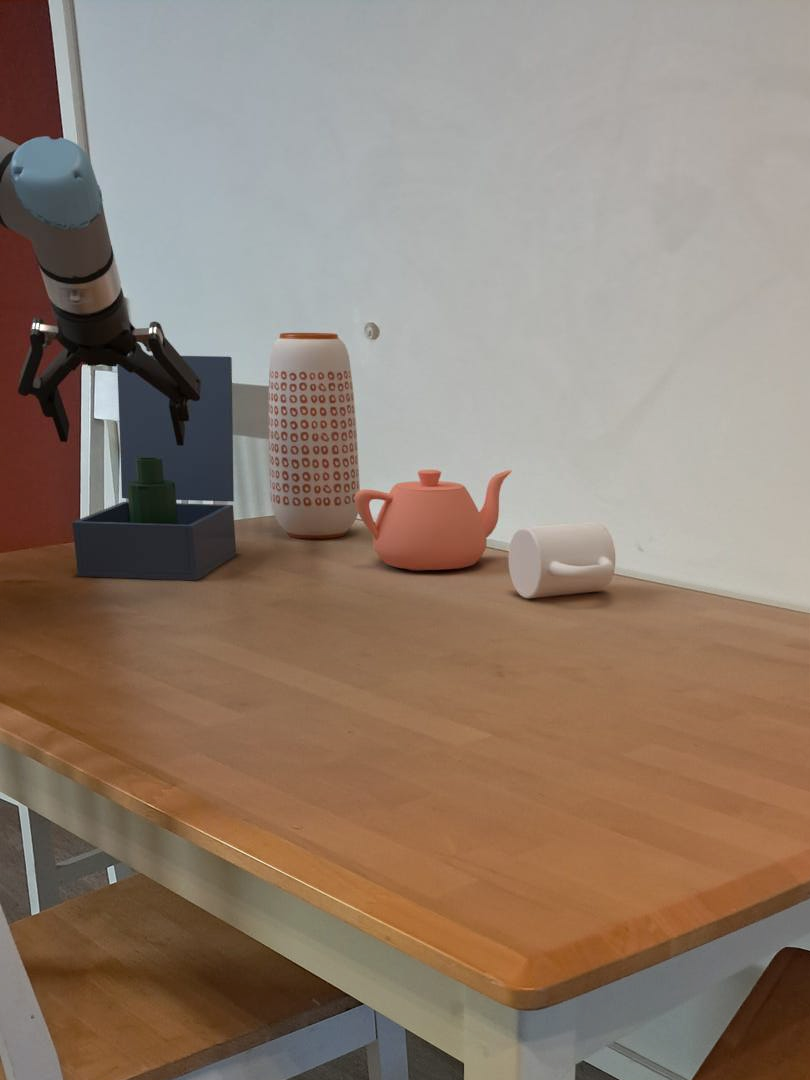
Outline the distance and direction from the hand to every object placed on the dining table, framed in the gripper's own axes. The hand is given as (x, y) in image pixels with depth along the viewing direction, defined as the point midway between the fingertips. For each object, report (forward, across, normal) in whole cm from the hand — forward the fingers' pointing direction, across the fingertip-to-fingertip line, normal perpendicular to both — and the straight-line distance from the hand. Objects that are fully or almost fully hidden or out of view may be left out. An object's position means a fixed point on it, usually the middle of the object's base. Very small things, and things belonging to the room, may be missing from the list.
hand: (123, 435), depth 152 cm
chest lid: (+16, +3, +15) cm, 22 cm away
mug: (+7, +54, -18) cm, 57 cm away
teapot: (+21, +38, -2) cm, 43 cm away
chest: (+21, +1, -3) cm, 21 cm away
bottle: (+20, +1, -4) cm, 20 cm away
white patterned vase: (+37, +21, +14) cm, 45 cm away
